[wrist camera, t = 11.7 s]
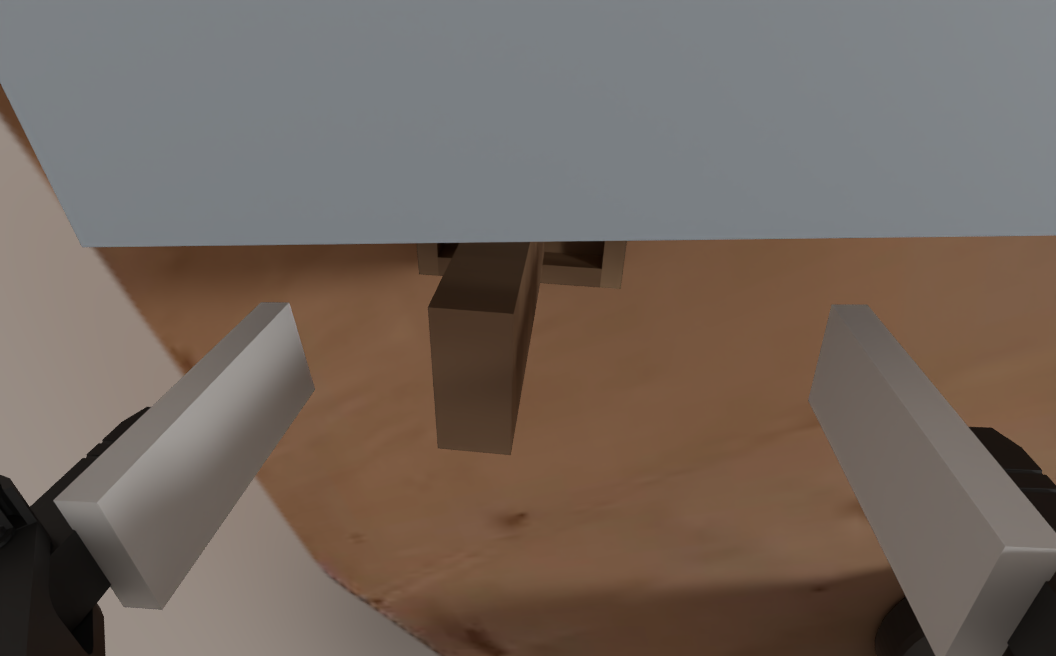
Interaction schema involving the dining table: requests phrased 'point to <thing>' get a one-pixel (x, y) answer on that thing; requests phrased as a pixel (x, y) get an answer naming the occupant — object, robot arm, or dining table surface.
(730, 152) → the grey step stool
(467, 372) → the tray
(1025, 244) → the dining table surface
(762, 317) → the dining table surface
